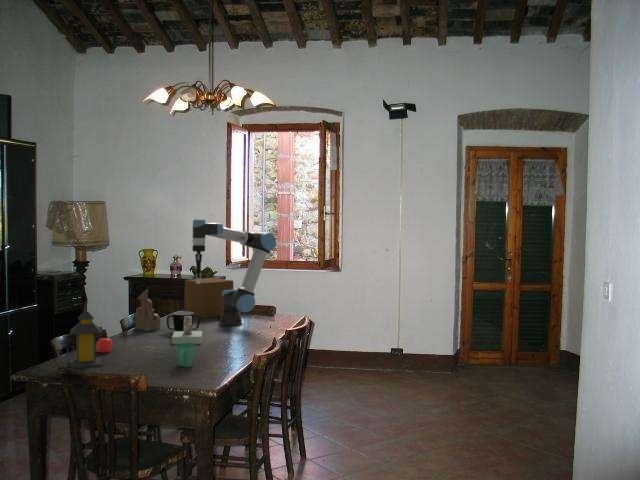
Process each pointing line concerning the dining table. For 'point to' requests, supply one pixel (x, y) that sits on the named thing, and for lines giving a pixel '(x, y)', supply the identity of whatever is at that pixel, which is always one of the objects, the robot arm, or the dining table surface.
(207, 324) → the dining table surface
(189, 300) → the wood block
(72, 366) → the lantern
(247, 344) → the dining table surface
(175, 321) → the mug
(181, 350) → the mug
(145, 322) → the wooden toy
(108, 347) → the red rounded cube
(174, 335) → the board
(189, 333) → the leg
